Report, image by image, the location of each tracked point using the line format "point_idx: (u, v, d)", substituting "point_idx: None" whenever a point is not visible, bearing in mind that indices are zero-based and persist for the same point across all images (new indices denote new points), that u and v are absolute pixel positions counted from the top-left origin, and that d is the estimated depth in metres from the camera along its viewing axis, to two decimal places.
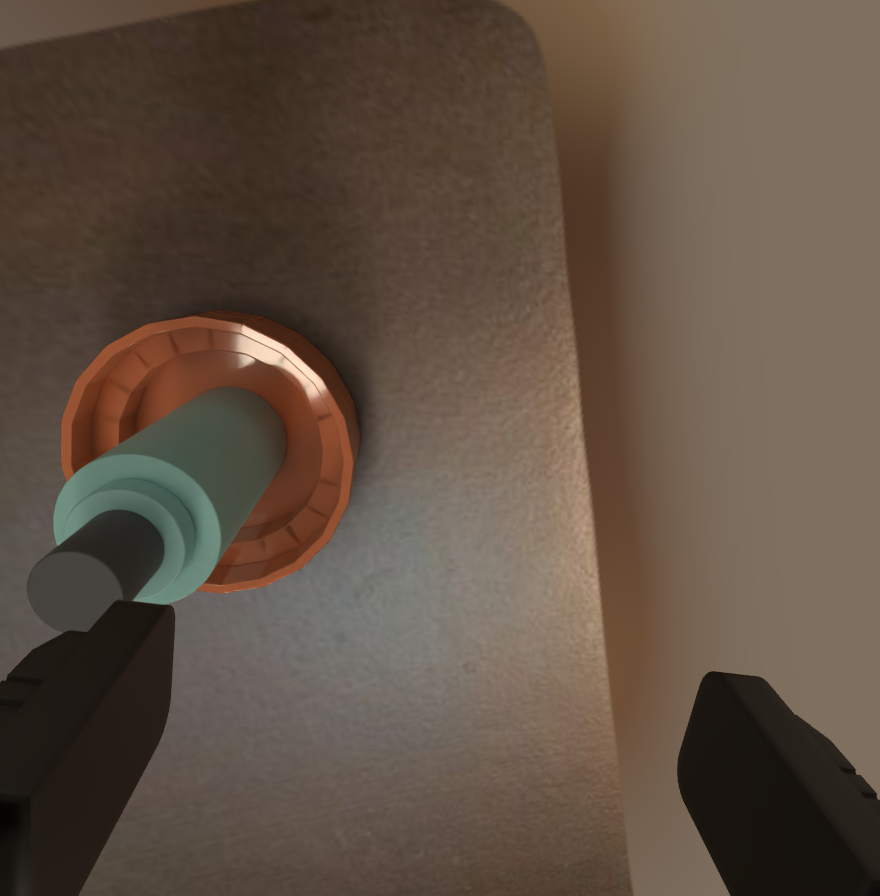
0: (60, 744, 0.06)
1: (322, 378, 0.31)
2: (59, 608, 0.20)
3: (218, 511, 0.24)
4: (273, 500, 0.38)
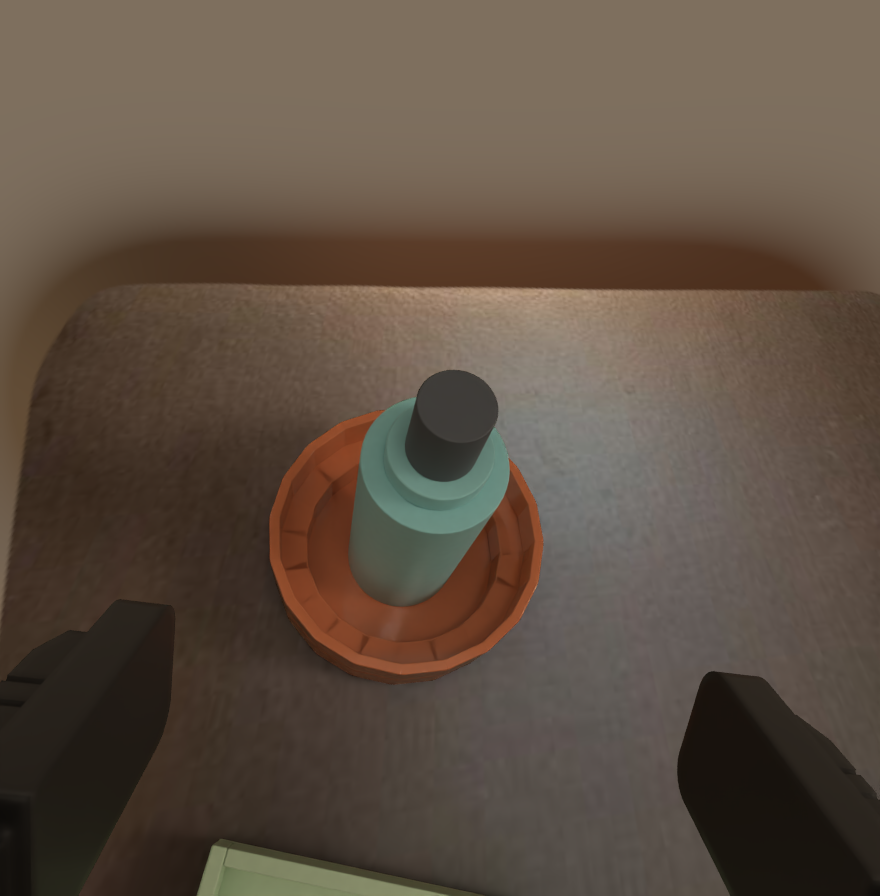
0: (60, 744, 0.06)
1: (341, 423, 0.36)
2: (470, 419, 0.22)
3: None
4: None
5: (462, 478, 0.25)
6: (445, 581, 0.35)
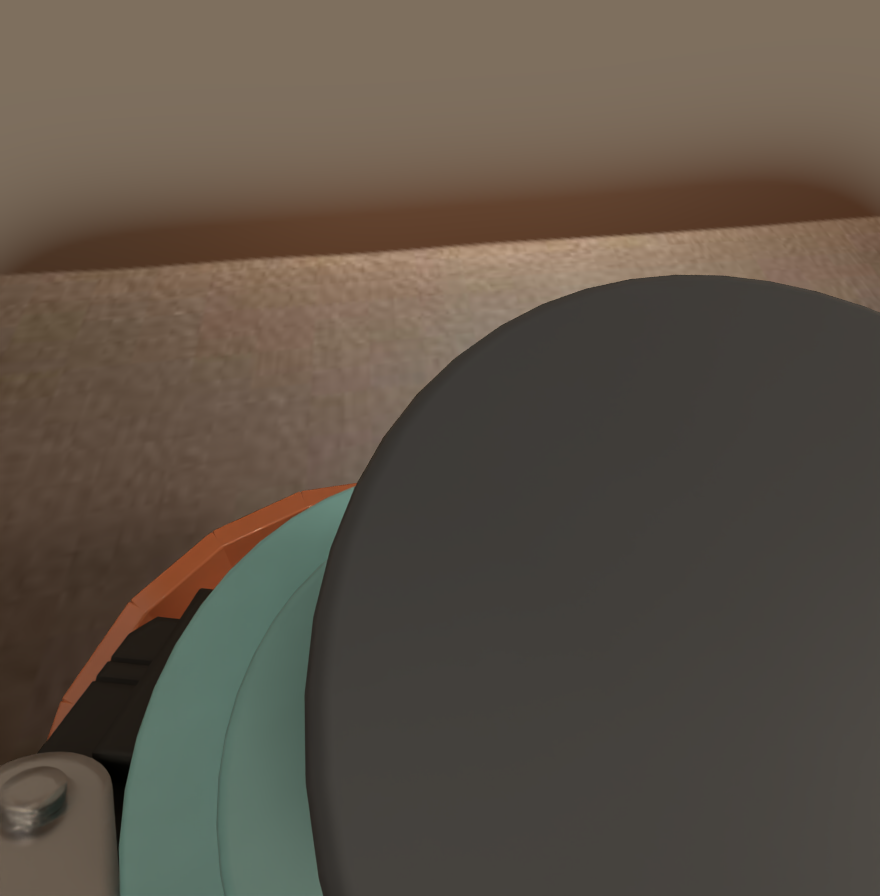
0: None
1: (214, 533, 0.15)
2: None
3: None
4: None
5: None
6: None
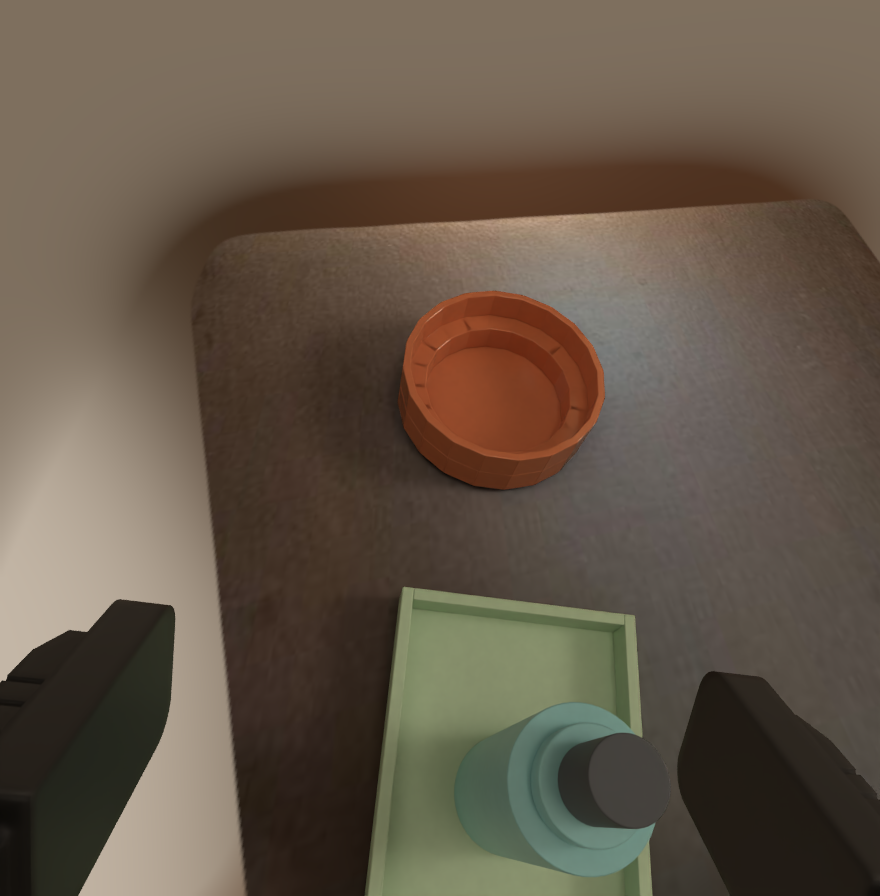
0: (60, 744, 0.06)
1: None
2: (645, 796, 0.21)
3: None
4: (535, 382, 0.51)
5: None
6: None
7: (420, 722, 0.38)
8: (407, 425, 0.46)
